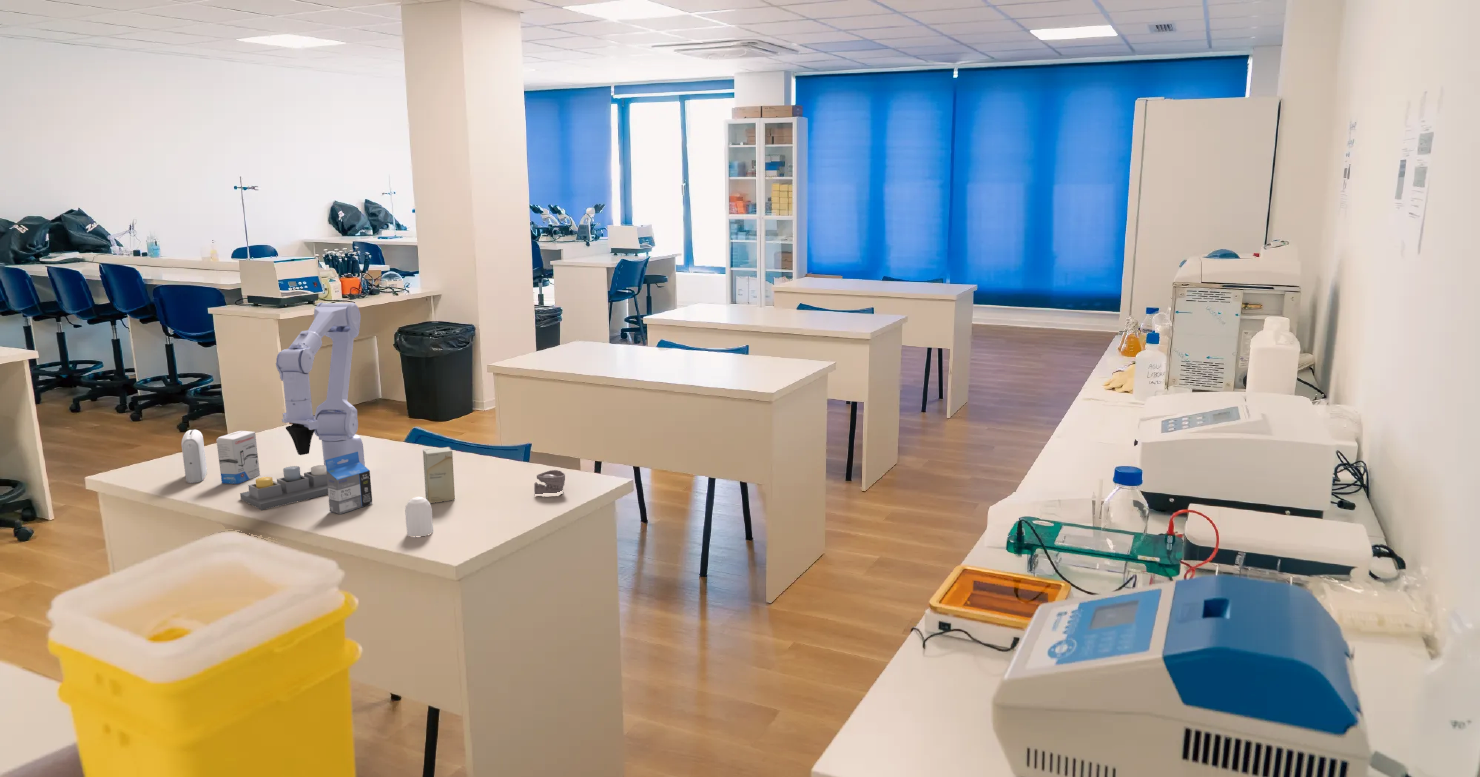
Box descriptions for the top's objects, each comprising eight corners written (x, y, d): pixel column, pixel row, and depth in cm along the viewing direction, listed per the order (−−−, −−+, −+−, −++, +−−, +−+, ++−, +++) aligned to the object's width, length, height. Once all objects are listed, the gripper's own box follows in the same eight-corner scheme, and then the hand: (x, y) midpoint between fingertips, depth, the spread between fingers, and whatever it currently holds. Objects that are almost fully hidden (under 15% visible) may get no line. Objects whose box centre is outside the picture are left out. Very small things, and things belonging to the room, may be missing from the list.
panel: (323, 480, 241) (322, 465, 240) (346, 490, 233) (344, 474, 232) (240, 499, 226) (238, 483, 225) (261, 510, 218) (259, 493, 217)
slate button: (296, 476, 231) (295, 465, 231) (303, 479, 229) (302, 468, 228) (281, 479, 229) (280, 468, 228) (288, 482, 226) (287, 471, 226)
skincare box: (428, 504, 222) (424, 454, 220) (425, 498, 226) (421, 449, 223) (456, 500, 225) (452, 450, 222) (452, 494, 229) (449, 446, 226)
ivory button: (323, 475, 236) (322, 464, 236) (330, 478, 234) (329, 467, 233) (309, 478, 234) (308, 467, 233) (315, 481, 231) (314, 470, 231)
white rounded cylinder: (437, 528, 206) (434, 493, 204) (427, 537, 201) (425, 501, 199) (412, 528, 206) (409, 493, 204) (403, 537, 201) (400, 501, 199)
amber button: (269, 487, 227) (268, 475, 226) (276, 490, 224) (275, 478, 224) (254, 490, 224) (252, 479, 224) (260, 493, 222) (259, 482, 221)
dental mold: (546, 500, 224) (545, 480, 223) (529, 494, 229) (528, 475, 228) (573, 492, 230) (572, 473, 229) (556, 487, 235) (555, 467, 234)
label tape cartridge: (339, 515, 215) (334, 462, 212) (329, 512, 217) (324, 460, 214) (373, 504, 222) (368, 453, 220) (362, 501, 224) (358, 450, 222)
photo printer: (204, 482, 240) (198, 434, 237) (184, 484, 238) (178, 436, 236) (208, 471, 249) (203, 425, 247) (190, 473, 247) (184, 427, 245)
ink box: (237, 484, 237) (232, 439, 235) (220, 483, 238) (214, 438, 236) (261, 474, 246) (256, 430, 243) (244, 473, 247) (239, 429, 244)
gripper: (267, 397, 229) (273, 452, 231) (294, 405, 219) (300, 462, 222) (297, 392, 234) (302, 446, 237) (324, 400, 225) (330, 456, 227)
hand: (303, 453), depth 230 cm, fingers closed
